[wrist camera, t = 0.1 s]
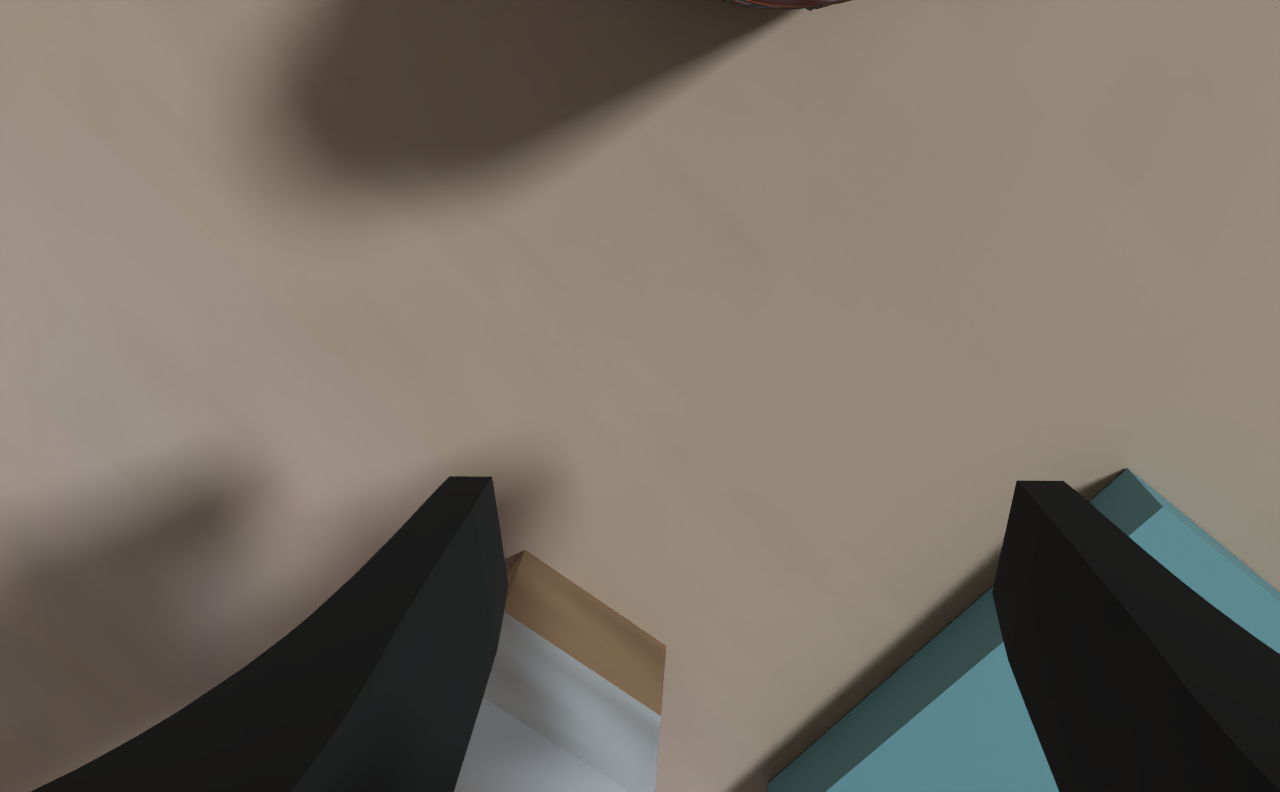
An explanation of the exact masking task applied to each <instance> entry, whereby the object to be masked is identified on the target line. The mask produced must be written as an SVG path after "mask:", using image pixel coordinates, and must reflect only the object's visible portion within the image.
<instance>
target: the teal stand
mask: <svg viewBox="0 0 1280 792" xmlns="http://www.w3.org/2000/svg"><path fill="white" fill-rule="evenodd" d="M1089 503H1091V504H1092V505H1093V506H1094V507H1095V508H1096V509H1097V510H1099V511H1100V512H1101V513H1102V514H1103V515H1104V516H1106V517H1107V518H1108V519H1109V520H1110V521H1111V522H1112V523H1114V524H1115V525H1116V526H1117V527H1118V528H1119V529H1121V530H1122V531H1123V532H1124V533H1125V534H1126V535H1127V536H1129V537H1130V538H1131V539H1132V540H1133V541H1134V542H1136V543H1137V544H1138V545H1139V546H1140V547H1141V548H1143V549H1144V550H1145V551H1146V552H1147V553H1149V554H1150V555H1151V556H1152V557H1153V558H1154V559H1156V560H1157V561H1158V562H1159V563H1160V564H1162V565H1163V566H1164V567H1165V568H1167V569H1168V570H1169V571H1170V572H1171V573H1173V574H1174V575H1175V576H1176V577H1177V578H1179V579H1180V580H1181V581H1182V582H1184V583H1185V584H1186V585H1187V586H1189V587H1190V588H1191V589H1192V590H1194V591H1195V592H1196V593H1198V594H1199V595H1200V596H1201V597H1203V598H1204V599H1205V600H1206V601H1208V602H1209V603H1210V604H1212V605H1213V606H1214V607H1216V608H1217V609H1218V610H1220V611H1221V612H1222V613H1224V614H1225V615H1226V616H1228V617H1229V618H1230V619H1232V620H1233V621H1234V622H1236V623H1237V624H1238V625H1240V626H1241V627H1242V628H1244V629H1245V630H1247V631H1248V632H1249V633H1251V634H1252V635H1253V636H1255V637H1256V638H1257V639H1259V640H1260V641H1262V642H1263V643H1264V644H1266V645H1267V646H1269V647H1270V648H1272V649H1273V650H1275V651H1276V652H1278V653H1279V654H1280V592H1278V591H1277V590H1276V589H1275V588H1273V587H1272V586H1271V585H1270V584H1268V583H1267V582H1266V581H1265V580H1264V579H1262V578H1261V577H1260V576H1259V575H1257V574H1256V573H1255V572H1254V571H1253V570H1251V569H1250V568H1249V567H1248V566H1246V565H1245V564H1244V563H1243V562H1242V561H1240V560H1239V559H1238V558H1237V557H1235V556H1234V555H1233V554H1232V553H1231V552H1229V551H1228V550H1227V549H1226V548H1224V547H1223V546H1222V545H1221V544H1220V543H1218V542H1217V541H1216V540H1215V539H1213V538H1212V537H1211V536H1210V535H1209V534H1207V533H1206V532H1205V531H1204V530H1202V529H1201V528H1200V527H1199V526H1198V525H1196V524H1195V523H1194V522H1193V521H1191V520H1190V519H1189V518H1188V517H1187V516H1185V515H1184V514H1183V513H1182V512H1180V511H1179V510H1178V509H1177V508H1176V507H1174V506H1173V505H1172V504H1171V503H1169V502H1168V501H1167V500H1166V499H1165V498H1163V497H1162V496H1161V495H1160V494H1158V493H1157V492H1156V491H1155V490H1154V489H1152V488H1151V487H1150V486H1149V485H1147V484H1146V483H1145V482H1144V481H1143V480H1141V479H1140V478H1139V477H1138V476H1136V475H1135V474H1134V473H1133V472H1132V471H1130V470H1129V469H1128V468H1127V469H1126V470H1125V471H1124V472H1123V473H1122V474H1120V475H1119V476H1118V477H1117V478H1116V479H1115V480H1114V481H1112V482H1111V483H1110V484H1109V485H1108V486H1107V487H1106V488H1105V489H1103V490H1102V491H1101V492H1100V493H1099V494H1098V495H1097V496H1095V497H1094V498H1093V499H1092V500H1091V501H1090V502H1089ZM993 587H994V586H993ZM993 587H992V588H990V589H989V590H988V591H987V592H986V593H985V594H984V595H982V596H981V597H980V598H979V599H978V600H977V601H976V602H974V603H973V604H972V605H971V606H970V607H969V608H968V609H966V610H965V611H964V612H963V613H962V614H961V615H960V616H959V617H957V618H956V619H955V620H954V621H953V622H952V623H951V624H949V625H948V626H947V627H946V628H945V629H944V630H943V631H941V632H940V633H939V634H938V635H937V636H936V637H935V638H933V639H932V640H931V641H930V642H929V643H928V644H927V645H925V646H924V647H923V648H922V649H921V650H920V651H919V652H917V653H916V654H915V655H914V656H913V657H912V658H911V659H909V660H908V661H907V662H906V663H905V664H904V665H903V666H901V667H900V668H899V669H898V670H897V671H896V672H895V673H893V674H892V675H891V676H890V677H889V678H888V679H887V680H886V681H884V682H883V683H882V684H881V685H880V686H879V687H878V688H876V689H875V690H874V691H873V692H872V693H871V694H870V695H868V696H867V697H866V698H865V699H864V700H863V701H862V702H860V703H859V704H858V705H857V706H856V707H855V708H854V709H852V710H851V711H850V712H849V713H848V714H847V715H846V716H844V717H843V718H842V719H841V720H840V721H839V722H838V723H836V724H835V725H834V726H833V727H832V728H831V729H830V730H828V731H827V732H826V733H825V734H824V735H823V736H822V737H820V738H819V739H818V740H817V741H816V742H815V743H814V744H813V745H811V746H810V747H809V748H808V749H807V750H806V751H805V752H803V753H802V754H801V755H800V756H799V757H798V758H797V759H795V760H794V761H793V762H792V763H791V764H790V765H789V766H787V767H786V768H785V769H784V770H783V771H782V772H781V773H779V774H778V775H777V776H776V777H775V778H774V779H773V780H771V781H770V782H769V783H768V784H767V789H768V792H1059V790H1058V787H1057V785H1056V782H1055V780H1054V777H1053V775H1052V772H1051V770H1050V767H1049V764H1048V762H1047V759H1046V757H1045V754H1044V752H1043V749H1042V747H1041V744H1040V742H1039V739H1038V737H1037V734H1036V731H1035V729H1034V726H1033V724H1032V721H1031V719H1030V716H1029V714H1028V711H1027V708H1026V706H1025V703H1024V701H1023V698H1022V695H1021V693H1020V690H1019V688H1018V685H1017V682H1016V680H1015V677H1014V675H1013V672H1012V669H1011V666H1010V664H1009V661H1008V657H1007V654H1006V650H1005V646H1004V642H1003V638H1002V634H1001V630H1000V626H999V621H998V617H997V613H996V608H995V604H994V599H993V595H992V592H993Z"/></svg>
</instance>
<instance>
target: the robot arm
mask: <svg viewBox="0 0 1280 792" xmlns="http://www.w3.org/2000/svg"><path fill="white" fill-rule="evenodd" d="M507 591H508V580H507V573H506V567H505V560H504V553H503V547H502V540H501V533H500V527H499V520H498V514H497V507H496V500H495V494H494V487H493V481H492V477H451V476H450V477H449V478H448V479H447V480H446V481H445V482H444V483H443V484H442V485H441V486H440V487H439V488H438V489H437V490H436V491H435V492H434V493H433V494H432V495H431V496H430V497H429V498H428V499H427V500H426V501H425V503H424V504H423V505H422V506H421V507H420V508H419V509H418V510H417V511H416V512H415V513H414V514H413V515H412V516H411V518H410V519H409V520H408V521H407V522H406V523H405V524H404V525H403V526H402V527H401V528H400V529H399V530H398V531H397V532H396V533H395V535H394V536H393V537H392V538H391V539H390V540H389V541H388V542H387V543H386V544H385V545H384V546H383V547H382V548H381V549H380V550H379V551H378V552H377V553H376V554H375V555H374V556H373V557H372V558H371V559H370V560H369V561H368V562H367V563H366V564H365V565H364V566H363V567H362V568H361V569H360V570H359V571H358V572H357V573H356V574H355V575H354V576H353V577H352V578H351V579H350V580H349V581H348V582H346V583H345V584H344V585H343V586H342V587H341V588H340V589H339V590H338V591H337V592H336V593H334V594H333V595H332V596H331V597H330V598H329V599H328V600H327V601H326V602H325V603H324V604H322V605H321V606H320V607H319V608H318V609H317V610H316V611H315V612H314V613H313V614H311V615H310V616H309V617H308V618H307V619H306V620H304V621H303V622H302V623H301V624H300V625H298V626H297V627H296V628H295V629H294V630H292V631H291V632H290V633H289V634H287V635H286V636H285V637H284V638H282V639H281V640H280V641H278V642H277V643H276V644H275V645H273V646H272V647H271V648H269V649H268V650H267V651H265V652H264V653H263V654H261V655H260V656H259V657H258V658H256V659H255V660H254V661H252V662H251V663H249V664H248V665H247V666H245V667H244V668H243V669H241V670H240V671H238V672H237V673H235V674H234V675H232V676H231V677H229V678H228V679H226V680H225V681H223V682H222V683H220V684H219V685H217V686H216V687H214V688H213V689H211V690H210V691H208V692H207V693H205V694H204V695H202V696H201V697H199V698H198V699H196V700H195V701H193V702H192V703H190V704H189V705H187V706H186V707H184V708H183V709H181V710H180V711H178V712H177V713H175V714H173V715H172V716H170V717H169V718H167V719H165V720H163V721H162V722H160V723H158V724H157V725H155V726H153V727H152V728H150V729H148V730H147V731H145V732H143V733H142V734H140V735H138V736H137V737H135V738H133V739H131V740H129V741H128V742H126V743H124V744H122V745H120V746H119V747H117V748H115V749H113V750H111V751H110V752H108V753H106V754H104V755H102V756H101V757H99V758H97V759H95V760H93V761H91V762H89V763H87V764H86V765H84V766H82V767H80V768H78V769H76V770H74V771H72V772H70V773H68V774H66V775H64V776H62V777H60V778H58V779H56V780H54V781H52V782H50V783H48V784H46V785H43V786H41V787H39V788H37V789H35V790H33V791H31V792H454V790H455V787H456V784H457V780H458V777H459V774H460V771H461V767H462V764H463V761H464V758H465V754H466V751H467V748H468V745H469V742H470V738H471V735H472V732H473V729H474V725H475V722H476V719H477V716H478V712H479V709H480V706H481V703H482V699H483V696H484V693H485V690H486V686H487V683H488V680H489V676H490V673H491V670H492V666H493V663H494V659H495V656H496V653H497V649H498V643H499V638H500V633H501V627H502V622H503V615H504V609H505V603H506V597H507ZM992 595H993V599H994V604H995V608H996V613H997V617H998V621H999V626H1000V630H1001V634H1002V638H1003V642H1004V646H1005V650H1006V654H1007V657H1008V661H1009V664H1010V666H1011V669H1012V672H1013V675H1014V677H1015V680H1016V682H1017V685H1018V688H1019V690H1020V693H1021V695H1022V698H1023V701H1024V703H1025V706H1026V708H1027V711H1028V714H1029V716H1030V719H1031V721H1032V724H1033V726H1034V729H1035V731H1036V734H1037V737H1038V739H1039V742H1040V744H1041V747H1042V749H1043V752H1044V754H1045V757H1046V759H1047V762H1048V764H1049V767H1050V770H1051V772H1052V775H1053V777H1054V780H1055V782H1056V785H1057V787H1058V790H1059V792H1280V654H1279V653H1278V652H1276V651H1275V650H1273V649H1272V648H1270V647H1269V646H1267V645H1266V644H1264V643H1263V642H1262V641H1260V640H1259V639H1257V638H1256V637H1255V636H1253V635H1252V634H1251V633H1249V632H1248V631H1247V630H1245V629H1244V628H1242V627H1241V626H1240V625H1238V624H1237V623H1236V622H1234V621H1233V620H1232V619H1230V618H1229V617H1228V616H1226V615H1225V614H1224V613H1222V612H1221V611H1220V610H1218V609H1217V608H1216V607H1214V606H1213V605H1212V604H1210V603H1209V602H1208V601H1206V600H1205V599H1204V598H1203V597H1201V596H1200V595H1199V594H1198V593H1196V592H1195V591H1194V590H1192V589H1191V588H1190V587H1189V586H1187V585H1186V584H1185V583H1184V582H1182V581H1181V580H1180V579H1179V578H1177V577H1176V576H1175V575H1174V574H1173V573H1171V572H1170V571H1169V570H1168V569H1167V568H1165V567H1164V566H1163V565H1162V564H1160V563H1159V562H1158V561H1157V560H1156V559H1154V558H1153V557H1152V556H1151V555H1150V554H1149V553H1147V552H1146V551H1145V550H1144V549H1143V548H1141V547H1140V546H1139V545H1138V544H1137V543H1136V542H1134V541H1133V540H1132V539H1131V538H1130V537H1129V536H1127V535H1126V534H1125V533H1124V532H1123V531H1122V530H1121V529H1119V528H1118V527H1117V526H1116V525H1115V524H1114V523H1112V522H1111V521H1110V520H1109V519H1108V518H1107V517H1106V516H1104V515H1103V514H1102V513H1101V512H1100V511H1099V510H1097V509H1096V508H1095V507H1094V506H1093V505H1092V504H1091V503H1089V502H1088V501H1087V500H1086V499H1085V498H1084V497H1082V496H1081V495H1080V494H1079V493H1078V492H1076V491H1075V490H1074V489H1073V488H1071V487H1070V486H1069V485H1068V484H1067V483H1065V482H1064V481H1017V482H1016V486H1015V491H1014V496H1013V500H1012V505H1011V509H1010V514H1009V518H1008V523H1007V528H1006V532H1005V537H1004V541H1003V546H1002V550H1001V555H1000V560H999V564H998V569H997V573H996V578H995V582H994V587H993V592H992Z"/></svg>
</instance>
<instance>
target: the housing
mask: <svg viewBox="0 0 1280 792" xmlns="http://www.w3.org/2000/svg"><path fill="white" fill-rule="evenodd" d="M506 573H507V580H508V591H507V597H506V603H505V609H504V615H503V622H502V627H501V633H500V638H499V643H498V649H497V653H496V656H495V659H494V663H493V666H492V670H491V673H490V676H489V680H488V683H487V686H486V690H485V693H484V696H483V699H482V703H481V706H480V709H479V712H478V716H477V719H476V722H475V725H474V729H473V732H472V735H471V738H470V742H469V745H468V748H467V751H466V754H465V758H464V761H463V764H462V767H461V771H460V774H459V777H458V780H457V784H456V787H455V790H454V792H655V786H656V773H657V760H658V747H659V733H660V720H661V707H662V694H663V681H664V667H665V654H666V646H665V645H664V644H662V643H661V642H659V641H658V640H657V639H655V638H654V637H652V636H651V635H649V634H648V633H646V632H645V631H643V630H642V629H640V628H639V627H637V626H636V625H635V624H633V623H632V622H630V621H629V620H627V619H626V618H624V617H623V616H621V615H620V614H618V613H617V612H615V611H614V610H613V609H611V608H610V607H608V606H607V605H605V604H604V603H602V602H601V601H599V600H598V599H596V598H595V597H593V596H592V595H591V594H589V593H588V592H586V591H585V590H583V589H582V588H580V587H579V586H577V585H576V584H574V583H573V582H571V581H570V580H569V579H567V578H566V577H564V576H563V575H561V574H560V573H558V572H557V571H555V570H554V569H552V568H551V567H549V566H548V565H547V564H545V563H544V562H542V561H541V560H539V559H538V558H536V557H535V556H533V555H532V554H530V553H529V552H527V551H526V550H524V552H523V553H522V554H521V555H520V556H519V558H518V559H517V560H516V561H515V562H514V563H513V565H512V566H511V567H510V568H509V569H508V570H507V572H506Z"/></svg>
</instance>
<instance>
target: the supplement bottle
mask: <svg viewBox="0 0 1280 792" xmlns="http://www.w3.org/2000/svg"><path fill="white" fill-rule="evenodd" d="M724 1H727V2H730V3H733V4H739V5H742V6H745V7H754V8H766V9H779V8H781V9H784V8H786V9H802V8H806V9H807V10H810V11H811V10H813V9H819V8H823V7H826V6H829V5H832V4H838V3H843V2H847V1H851V0H724Z"/></svg>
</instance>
